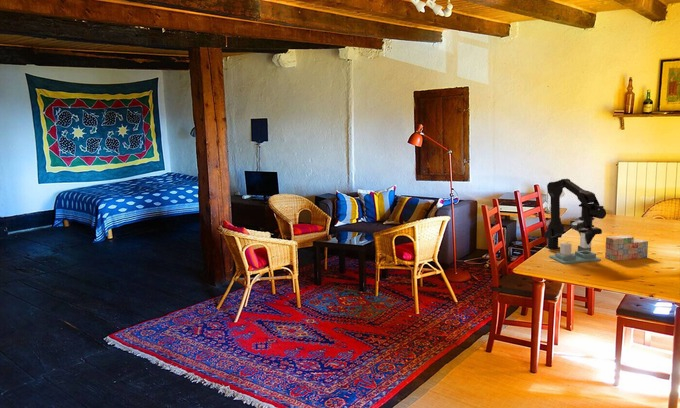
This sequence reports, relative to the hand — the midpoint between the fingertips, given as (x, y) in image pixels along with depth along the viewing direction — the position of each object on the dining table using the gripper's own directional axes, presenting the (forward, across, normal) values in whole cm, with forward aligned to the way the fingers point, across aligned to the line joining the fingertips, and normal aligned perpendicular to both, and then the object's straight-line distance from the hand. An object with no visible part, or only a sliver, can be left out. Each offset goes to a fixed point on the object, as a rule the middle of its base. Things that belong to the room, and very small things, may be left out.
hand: (585, 243), depth 295 cm
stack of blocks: (+8, +6, +21) cm, 23 cm away
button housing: (+8, -12, +8) cm, 16 cm away
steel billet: (+2, 0, 0) cm, 2 cm away
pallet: (+8, 0, -6) cm, 10 cm away
